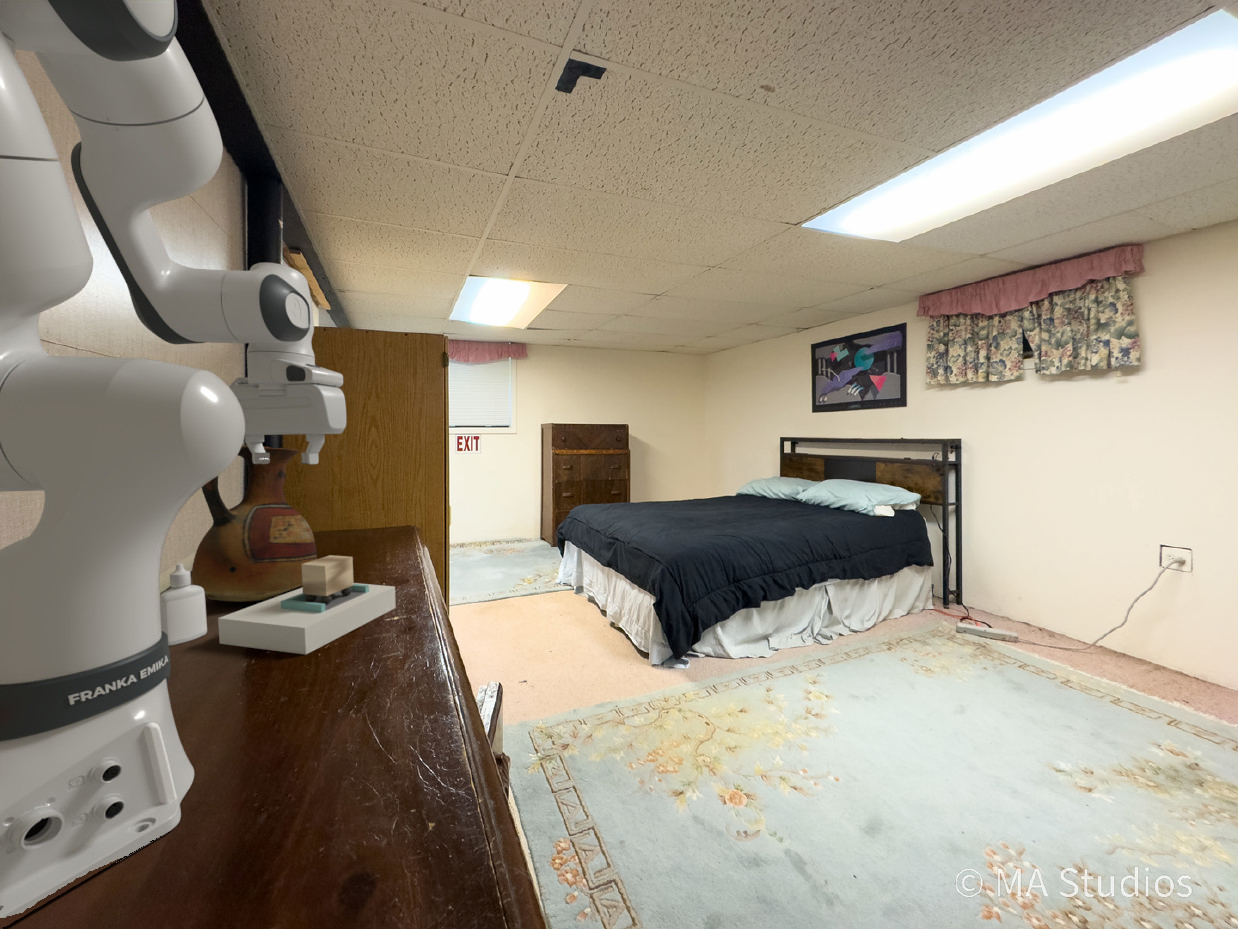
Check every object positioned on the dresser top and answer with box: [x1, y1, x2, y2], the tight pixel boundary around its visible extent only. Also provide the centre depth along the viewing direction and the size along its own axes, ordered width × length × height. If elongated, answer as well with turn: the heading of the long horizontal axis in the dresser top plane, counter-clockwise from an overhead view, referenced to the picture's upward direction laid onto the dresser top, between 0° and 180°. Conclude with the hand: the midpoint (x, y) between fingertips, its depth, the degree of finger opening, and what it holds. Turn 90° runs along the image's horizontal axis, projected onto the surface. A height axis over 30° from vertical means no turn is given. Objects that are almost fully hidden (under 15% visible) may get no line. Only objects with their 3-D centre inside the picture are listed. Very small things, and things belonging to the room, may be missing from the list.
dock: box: [217, 582, 397, 655], centre depth 87 cm, size 20×16×5 cm
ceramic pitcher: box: [191, 443, 318, 603], centre depth 101 cm, size 20×20×30 cm
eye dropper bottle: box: [160, 563, 208, 647], centre depth 80 cm, size 4×6×12 cm
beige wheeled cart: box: [302, 554, 355, 604], centre depth 87 cm, size 6×5×7 cm
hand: (285, 464), depth 81 cm, fingers open, 8 cm apart
